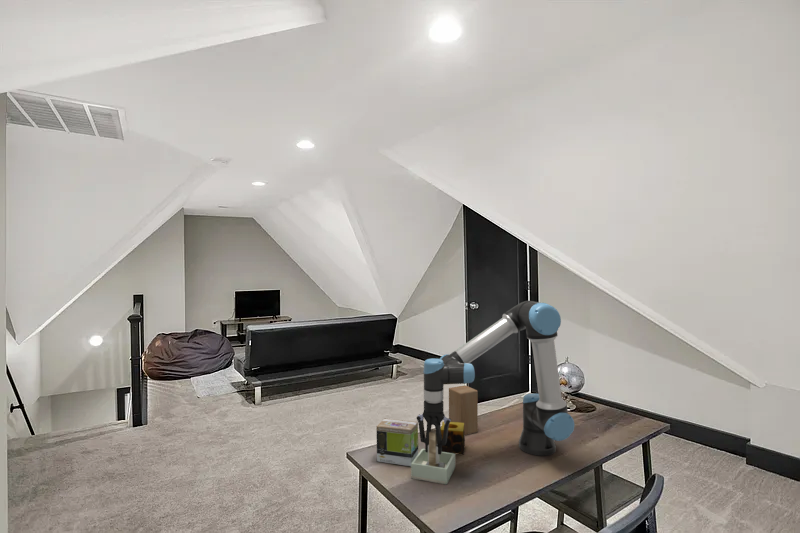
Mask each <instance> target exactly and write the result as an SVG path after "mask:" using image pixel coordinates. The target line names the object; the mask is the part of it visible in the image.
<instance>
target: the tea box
mask: <svg viewBox="0 0 800 533" xmlns="http://www.w3.org/2000/svg"><path fill="white" fill-rule="evenodd" d="M375 430H376V461H377V462H380V463H386V464H394V465H399V466H406V467H411V463H412V462H413V460H414V459H415V458H416V456H417V455H418V454H419V423H418V421H413V420H406V419H405V420H404V419H395V418H384V419H382V420H381V421H380V422H379V423H378V424H377V425H376V429H375Z"/></svg>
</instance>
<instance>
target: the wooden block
mask: <svg viewBox="0 0 800 533" xmlns="http://www.w3.org/2000/svg"><path fill="white" fill-rule="evenodd" d="M478 392H479V391H478V389H475V388H472V387H470V386H468V385H466V384H464V385H460V386H453V387H449V388H448V418H450V419H451V421H450V422H459V423H464V436H467V435H472V434H475V433H478V430H479V429H478V428H479V426H478V422H479V421H478V419H479V416H478V410H479V408H478V407H479V406H478V402H479V401H478V400H479V399H478V397H479V396H478Z"/></svg>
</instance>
